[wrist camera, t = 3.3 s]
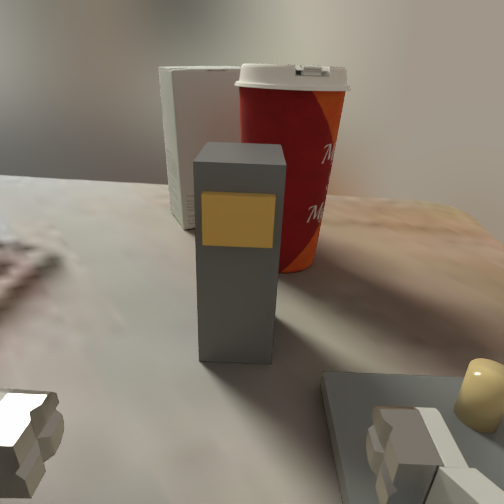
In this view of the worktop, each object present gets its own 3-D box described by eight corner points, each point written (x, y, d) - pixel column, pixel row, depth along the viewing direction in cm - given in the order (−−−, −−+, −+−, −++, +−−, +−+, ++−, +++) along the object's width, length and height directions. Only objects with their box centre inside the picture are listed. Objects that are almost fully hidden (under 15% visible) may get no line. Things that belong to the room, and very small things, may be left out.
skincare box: (236, 205, 45) (239, 66, 39) (257, 222, 40) (264, 67, 34) (166, 212, 42) (156, 63, 36) (179, 232, 37) (171, 63, 31)
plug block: (197, 367, 21) (191, 163, 16) (210, 309, 26) (207, 141, 21) (271, 370, 21) (287, 167, 16) (269, 312, 25) (280, 144, 21)
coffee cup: (344, 274, 31) (377, 67, 24) (244, 285, 28) (252, 62, 22) (304, 234, 38) (321, 67, 31) (223, 240, 36) (223, 62, 29)
